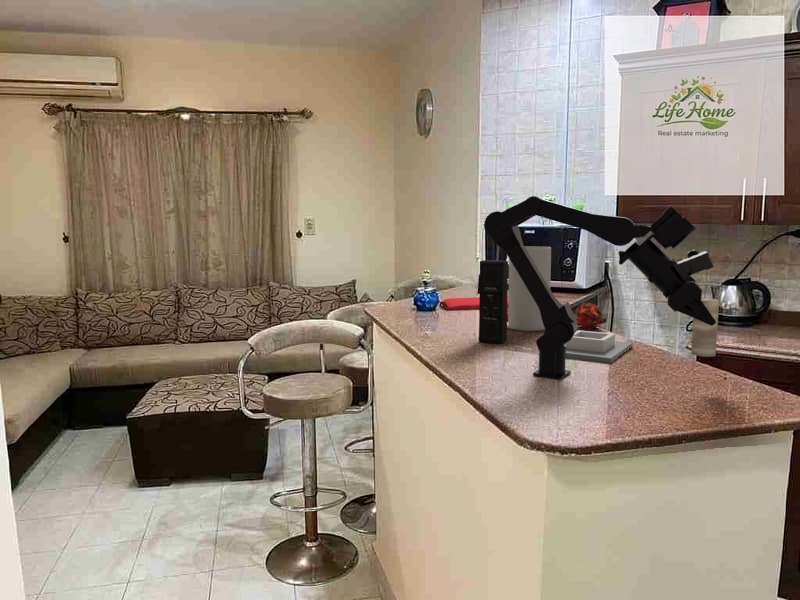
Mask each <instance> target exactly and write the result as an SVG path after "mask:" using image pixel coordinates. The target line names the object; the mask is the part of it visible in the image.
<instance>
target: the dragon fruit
mask: <svg viewBox="0 0 800 600" xmlns="http://www.w3.org/2000/svg"><path fill="white" fill-rule="evenodd" d="M574 314H575V315H576V316H577V319H576V321H577V327H581V328H582V329H584V330H585V331H589V330H591V329H592V327H593V329H597V328H599V326H600V325H602V324H606V322H607V318H604V317H605V316H604V314H603V312H602V311H601V308H600V307H599V306H597V305H596V304H593V303H590V302H583V303H582V304H580V305H579V306H578V307H577V308H576V309H575V313H574Z"/></svg>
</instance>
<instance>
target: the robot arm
mask: <svg viewBox="0 0 800 600" xmlns="http://www.w3.org/2000/svg"><path fill="white" fill-rule="evenodd" d="M536 216H537V217H541V218H543V219H548V220H550V221H554V222H557V223H561V224H564V225H567V226H569V227H574V228H577V229H581V230H584V231H587V232H589V233H590V234H592V235H593V236H594V235H595V236H596V237H598V238H600V239H601V240H604V241H605V242H608V243H610V244H611V245H614V246H617V247H622V246H626V245H628V244H630V243H631V242H632V241H633V240H634V239H637V238H643V237H646V236H647V234H649V232H652V233H651V234H650V235H649V236H648V237H646V239H644V240H643V241H642V242H641V243H640V244H639V242H637V241H634V243H632V244H631V245H630V246H629V247H628V248H626V250H619V251H618V252H617V254H618V257H619V260H618V265H623V264H624V263H626V262H627V261H629V262H630V263H632V264H633V265H634V266H635V268H637V270H639V271H640V272H641V273H642V274H643V275H644V277H646V279H647V281H649V283H651V284H653V285H654V286H655V288H657V289H658V290H659V291H660V292H661V294H662V296H664V297H665V298H666V299H667V301H666V303H667V305H668V307H670V309H671V310H672V311H673V312H679V313H681V314H683V315H686V316H689V317H690V318H692V319H693V318H695V319H697V320H700V321H702V322H704V323H706V324H709V325H711V326H713V325H714V324H715V323H716V321H715V319H714V318H713V317H712V315H711V314H710V312H709V311H708V309H707V308H706V306H705V305H704V304H703V302H702V301H701V298H702V295H703V290H702V288H701V287H700V285H699V283H696V282H697V280H696V279H695V278H694V277H693V276H692V275H695V274H698V273H701V272H703V271H704V270H706V271H709V270H710V269H713V268H714V267H715V265H714V263H713V262H712V259H711V257H710V255H709V253H708V251H705V250H704V251H701V252H698V251H697V250H695V249H693V250H690V251H687V255H686V258H684V259H682V260H680V261H676V260H675V259H674V258H671V257H669V256H668V255H667V254H666V253H665V252H664V251H663V250H662V249H661V248H660V247H659V246H658V245H657V244H656V243H655V242H654V241H653V240H652V239H654V240H655V241H656V242H658V244H660V246H661V247H662V248H664V250H667V249H669V248H670V247H671V249H673V250H675V249H676V248H677V247H678V246H679V245H681V244H682V243H683V242H685V240H686V239H688V238H689V237H690V236H691V235H693V233H695V232H696V231H697V228H696V227H695V226H694V225H693V224H692V223H691V222H690V221H689V220H688V219H687V218H686V217H684V216H682V215H681V214H680V213H679V212H678V211H677V210H676V209H674V207H672V206H669V207H668V208H667V209H666V210H665V211H664V212H663V213H662V215H661V216H659V217H658V218H657V219H656V220H655V221H654V222H653V223H651V224H650V225H647V224H646V223H645V224H639V223H637V224H636V223H634V221H633V220H632V219H630V218H628V217H626V216H625V217H623V216H615V215H609V214H607V215H606V214H600V213H599V214H597V213H591V212H588V211H584V210H582V209H578V208H574V207H571V206H567V205H563V204H560V203H557V202H554V201H550V200H547V199H544V198H543V197H541V196H535V195H532V196H529V197H527V198H526V199H525V200H523V201H521V202H519V203H517V204H515V205H513V206H510V207H509V208H507V209H505V210H502V211H501V210H500V211H498V210H497V211H493V212H490V213H489V214H488V215H487V216H486V217H485V218H484V224H483V228H484V231H485V233H486V234H487V235H488V237H490V239H491V240H492V241H493V242H494V243H495V245H496V246H498V248H500V249H501V250H502V252H503V253H504V252H505V255H507V257H508V260H509V259H510V261H511V262H512V264H513V266H514V267H515V269H516V271H517V272H518V274H519V276H520V277H521V279H522V281H523V282H524V284H525V286H526V287H527V289H528V291H529V292H530V294H531V296H532V297H533V299H534V301H535V302H536V304H537V306H538V308H539V310H540V314H541V318H542V322H543V325H544V327H545V330H544V332H543V333H541V335H540V336H539V337H538V338H537V339H536V341H535V343H536V345H537V350H538V369H537V370H535V371H533V372H532V375H533V376H536V377H537V376H538V377H543V378H551V379H558V380H562V379H563V378H566V377H567V376H568V375H569V374H571V373H572V371H571V370H569V369H566V361H567V360H566V359H567V358H566V347H565V345H564V344H566V342H568V341H570V340H571V338H572V337H573V336H574V334H575V332H576V331H578V326H577V321H576V319H577V316H576V315H575V313H574V312H573V310H572V307H571V304H570V303H569V302H568V301H566V302H565V303H564V304H563V303H561V302H560V301H559V300H558V299H557V298H556V296H555V295H554V293H553V292H552V289H551V287H550V288H549V287H548V285H547V283H546V282H545V280H544V278H543V277H542V275H541V273H540V272H539V270H538V268H537V267H536V265H535V263H534V262H533V260H532V258H531V257H530V255H529V253H528V252H527V250H526V248H525V247H524V246H525V245H524V241H523V239H522V236H521V235H522V234H521V231H520V229H519V225H522V224H523V223H525V222H527V221H528V220H530V219H532V218H534V217H536Z"/></svg>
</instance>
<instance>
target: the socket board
mask: <svg viewBox="0 0 800 600" xmlns="http://www.w3.org/2000/svg"><path fill="white" fill-rule="evenodd" d="M564 345H565V347H566V359H574V360H582V361H590V362H598V363H605V362H606V363H608V364H612V363H614V362H615V361H616V360H617V359H619V358H620V357H621V356H623V355H624V354H625V353H624V352H625V351H627V350H628V349H629V348H630V347H632V346H633V345H634V344H633V342H627V341H616V333H611V332H600V331H589V330H579V329H577V330H576V332H575V334H574V336H573V337H572V338H571V340H570V341H568V342H566V344H564ZM633 347H634V346H633ZM633 347H632V348H633ZM628 351H629V350H628ZM628 351H627V352H628ZM623 353H624V354H623ZM622 354H623V355H622ZM620 355H621V356H620ZM619 356H620V357H619ZM618 357H619V358H618Z"/></svg>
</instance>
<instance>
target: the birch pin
mask: <svg viewBox="0 0 800 600" xmlns="http://www.w3.org/2000/svg"><path fill="white" fill-rule="evenodd" d="M701 301H702V302H703V304H704V305H705V306H706V308H707V309H708V311H709V312H710V314H711V315H712V317H713V318H714V319H715V321H716V323H715V324H714V325H713V326H711V325H709V324H706V323H704V322H702V321H700V320H697V319H695V318H693V317H692V319H693V320H692V335H691V350H690V352H691V355H694V356H697V357H698V356H699V357H704V358H705V357H709V358H710V357H716V355H717V339H718V327H719V307H720V299H715V298H709V297H707V298H706V297H705V298H702V297H701Z"/></svg>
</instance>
